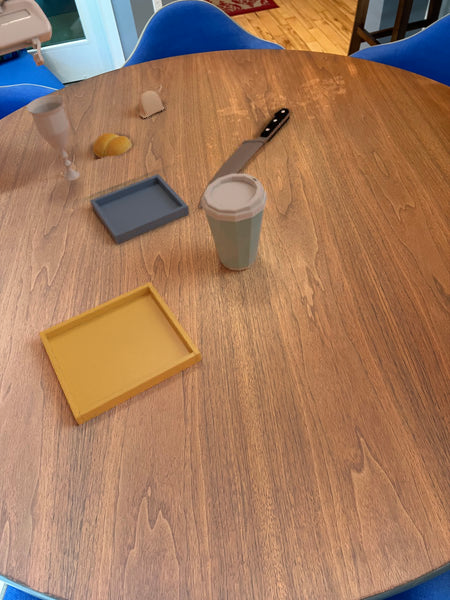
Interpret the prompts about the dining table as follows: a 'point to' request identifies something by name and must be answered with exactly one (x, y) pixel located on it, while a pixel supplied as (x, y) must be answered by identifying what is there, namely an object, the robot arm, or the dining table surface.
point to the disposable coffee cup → (235, 218)
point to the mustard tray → (117, 351)
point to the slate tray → (139, 208)
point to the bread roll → (111, 145)
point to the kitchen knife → (251, 146)
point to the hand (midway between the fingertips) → (19, 71)
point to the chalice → (53, 127)
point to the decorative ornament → (150, 102)
